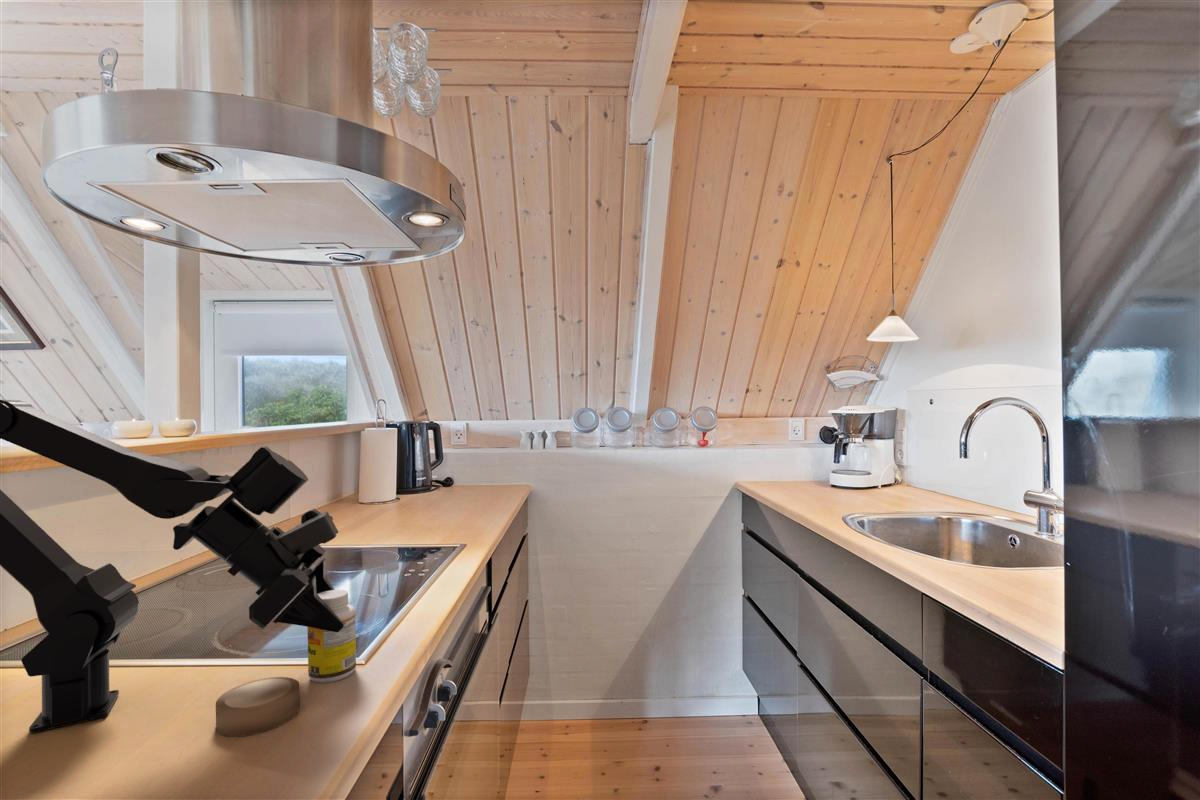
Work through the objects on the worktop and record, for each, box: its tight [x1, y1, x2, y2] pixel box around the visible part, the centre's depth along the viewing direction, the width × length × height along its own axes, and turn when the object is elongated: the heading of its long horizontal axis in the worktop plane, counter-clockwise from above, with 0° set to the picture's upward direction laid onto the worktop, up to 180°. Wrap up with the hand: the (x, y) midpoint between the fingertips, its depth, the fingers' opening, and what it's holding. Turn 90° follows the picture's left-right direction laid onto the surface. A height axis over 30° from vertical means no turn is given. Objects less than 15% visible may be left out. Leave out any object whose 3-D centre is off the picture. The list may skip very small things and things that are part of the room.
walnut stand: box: [215, 676, 301, 737], centre depth 65 cm, size 8×8×3 cm
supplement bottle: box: [307, 589, 357, 684], centre depth 75 cm, size 6×6×10 cm
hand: (343, 620), depth 75 cm, fingers closed on supplement bottle, 5 cm apart
